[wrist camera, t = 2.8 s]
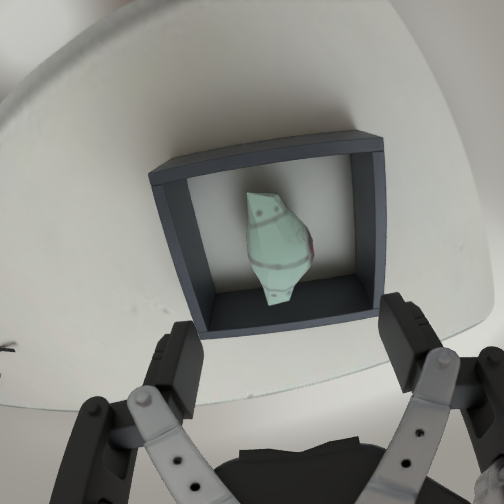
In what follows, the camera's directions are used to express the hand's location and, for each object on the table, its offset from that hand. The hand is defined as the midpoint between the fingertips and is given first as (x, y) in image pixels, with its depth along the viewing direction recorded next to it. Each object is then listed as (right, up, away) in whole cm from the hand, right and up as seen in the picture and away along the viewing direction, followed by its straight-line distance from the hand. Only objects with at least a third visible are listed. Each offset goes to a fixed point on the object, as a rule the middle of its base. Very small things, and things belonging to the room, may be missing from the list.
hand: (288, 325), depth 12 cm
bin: (0, +5, +11) cm, 12 cm away
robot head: (0, +5, +11) cm, 12 cm away
